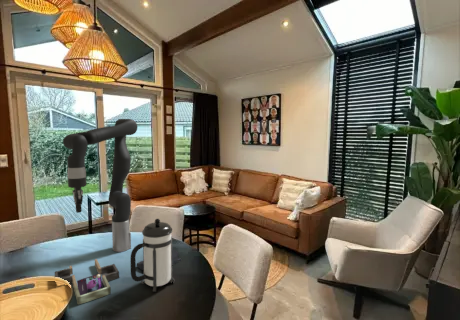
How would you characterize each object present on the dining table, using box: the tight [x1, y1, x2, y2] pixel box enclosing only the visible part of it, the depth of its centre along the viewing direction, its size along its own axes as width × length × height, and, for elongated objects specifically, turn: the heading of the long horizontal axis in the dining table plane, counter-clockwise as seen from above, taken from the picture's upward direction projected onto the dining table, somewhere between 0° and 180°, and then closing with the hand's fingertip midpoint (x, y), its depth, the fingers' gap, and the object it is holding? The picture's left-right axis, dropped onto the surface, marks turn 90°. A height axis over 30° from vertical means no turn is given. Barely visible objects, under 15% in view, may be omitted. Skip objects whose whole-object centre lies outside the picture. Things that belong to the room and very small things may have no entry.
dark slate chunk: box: [136, 247, 183, 272], centre depth 135 cm, size 15×22×5 cm
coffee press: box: [130, 218, 176, 293], centre depth 114 cm, size 17×16×30 cm
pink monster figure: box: [76, 273, 104, 295], centre depth 111 cm, size 7×5×9 cm
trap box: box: [54, 258, 120, 305], centre depth 117 cm, size 24×30×3 cm
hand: (78, 212), depth 125 cm, fingers closed
